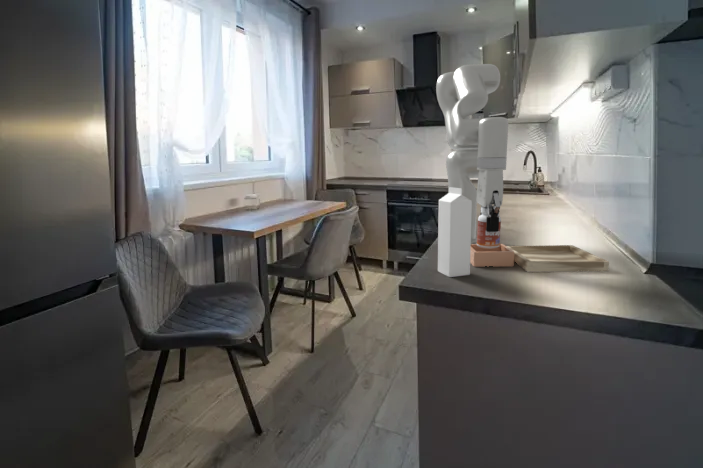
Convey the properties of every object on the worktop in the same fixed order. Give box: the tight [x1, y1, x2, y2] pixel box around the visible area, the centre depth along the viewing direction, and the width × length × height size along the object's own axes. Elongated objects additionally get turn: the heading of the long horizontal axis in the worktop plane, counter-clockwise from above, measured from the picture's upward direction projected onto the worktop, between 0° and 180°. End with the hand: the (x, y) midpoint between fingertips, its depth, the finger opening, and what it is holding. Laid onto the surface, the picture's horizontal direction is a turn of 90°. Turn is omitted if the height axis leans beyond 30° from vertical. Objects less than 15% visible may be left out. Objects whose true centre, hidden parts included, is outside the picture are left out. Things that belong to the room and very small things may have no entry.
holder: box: [470, 243, 515, 268], centre depth 118 cm, size 11×11×4 cm
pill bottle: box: [476, 206, 502, 249], centre depth 117 cm, size 6×6×11 cm
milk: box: [437, 187, 472, 278], centre depth 106 cm, size 6×6×22 cm
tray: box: [506, 244, 610, 273], centre depth 116 cm, size 20×20×2 cm
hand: (488, 228), depth 117 cm, fingers closed on pill bottle, 6 cm apart
